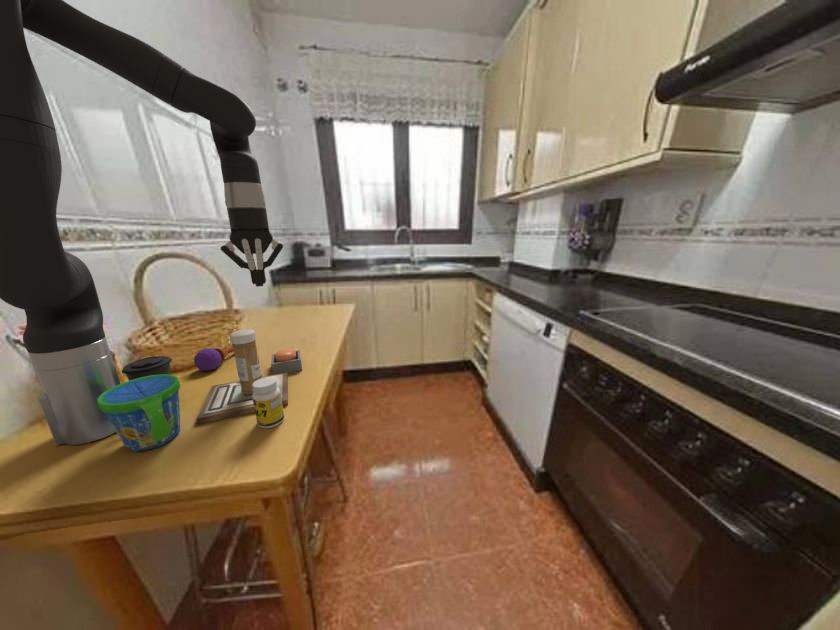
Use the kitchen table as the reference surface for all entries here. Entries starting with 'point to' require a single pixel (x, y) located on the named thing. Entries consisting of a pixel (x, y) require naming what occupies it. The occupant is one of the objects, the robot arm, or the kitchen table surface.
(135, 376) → the coffee cup
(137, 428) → the snack cup
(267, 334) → the kitchen table surface
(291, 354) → the button
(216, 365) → the kendama
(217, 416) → the colouring board
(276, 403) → the supplement bottle
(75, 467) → the kitchen table surface
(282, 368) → the button collar
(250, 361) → the spice bottle
